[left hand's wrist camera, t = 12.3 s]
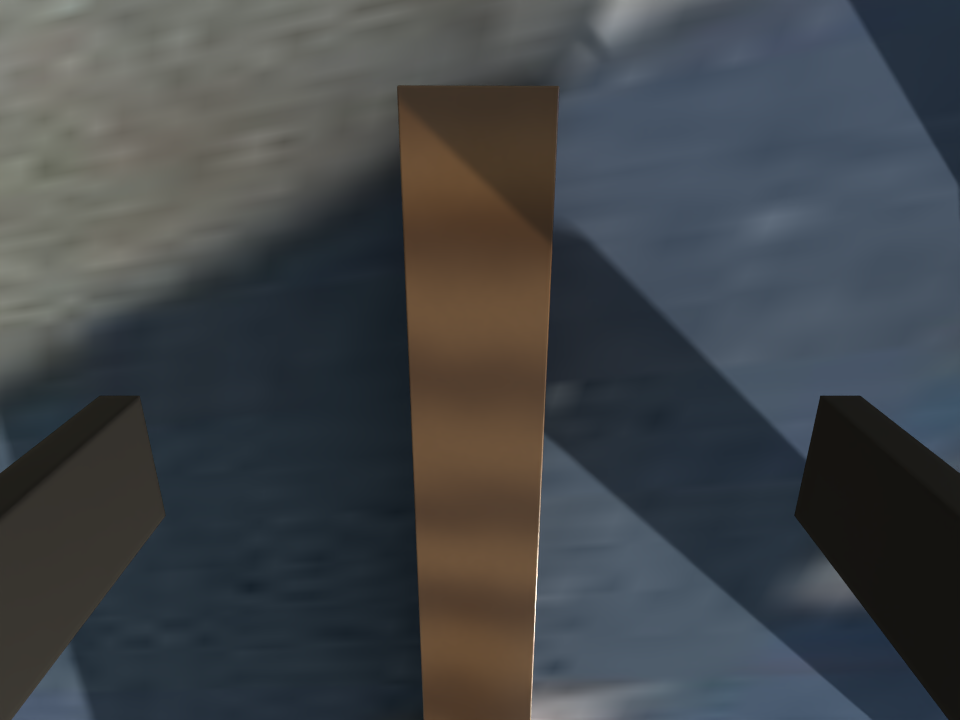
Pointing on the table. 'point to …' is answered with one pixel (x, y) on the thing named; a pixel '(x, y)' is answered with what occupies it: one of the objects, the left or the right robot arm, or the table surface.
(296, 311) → the table surface
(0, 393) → the table surface
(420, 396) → the bar
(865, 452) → the left robot arm
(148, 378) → the table surface
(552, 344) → the table surface
